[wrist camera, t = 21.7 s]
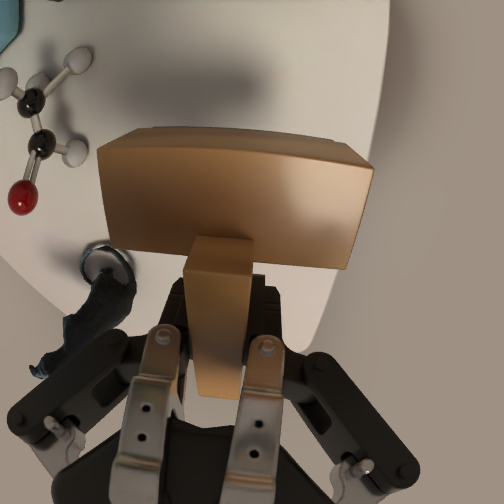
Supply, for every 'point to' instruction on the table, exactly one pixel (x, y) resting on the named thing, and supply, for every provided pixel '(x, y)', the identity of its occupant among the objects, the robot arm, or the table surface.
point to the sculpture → (92, 314)
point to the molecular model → (42, 140)
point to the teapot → (8, 21)
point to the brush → (231, 219)
